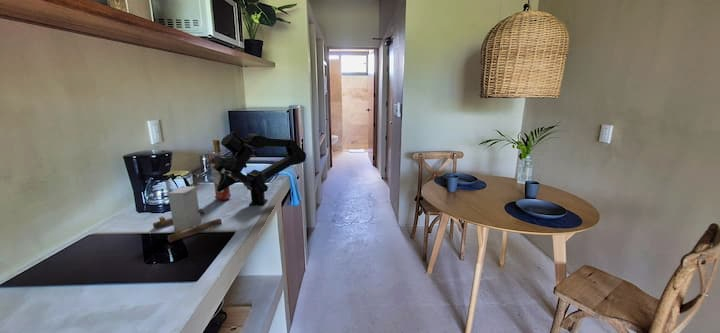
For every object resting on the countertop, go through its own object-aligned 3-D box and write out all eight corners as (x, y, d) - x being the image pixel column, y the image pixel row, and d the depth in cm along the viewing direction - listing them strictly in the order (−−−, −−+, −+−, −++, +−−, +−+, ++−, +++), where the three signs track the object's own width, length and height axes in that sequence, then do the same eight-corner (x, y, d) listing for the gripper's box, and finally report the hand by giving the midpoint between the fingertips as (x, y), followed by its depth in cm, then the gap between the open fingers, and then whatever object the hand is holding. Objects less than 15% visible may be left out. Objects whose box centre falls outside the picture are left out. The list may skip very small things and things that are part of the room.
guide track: (202, 212, 128) (201, 205, 127) (222, 224, 117) (220, 216, 116) (153, 227, 114) (151, 219, 113) (170, 242, 104) (168, 233, 103)
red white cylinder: (211, 200, 141) (203, 140, 133) (223, 195, 147) (216, 137, 140) (223, 202, 138) (215, 141, 131) (235, 197, 145) (228, 139, 137)
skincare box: (189, 231, 112) (183, 193, 108) (173, 231, 112) (166, 193, 108) (202, 221, 120) (196, 185, 116) (187, 221, 120) (181, 185, 116)
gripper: (215, 145, 128) (191, 176, 122) (238, 151, 116) (212, 186, 111) (234, 159, 135) (213, 189, 130) (258, 167, 124) (235, 200, 119)
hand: (217, 191), depth 122 cm, fingers closed
